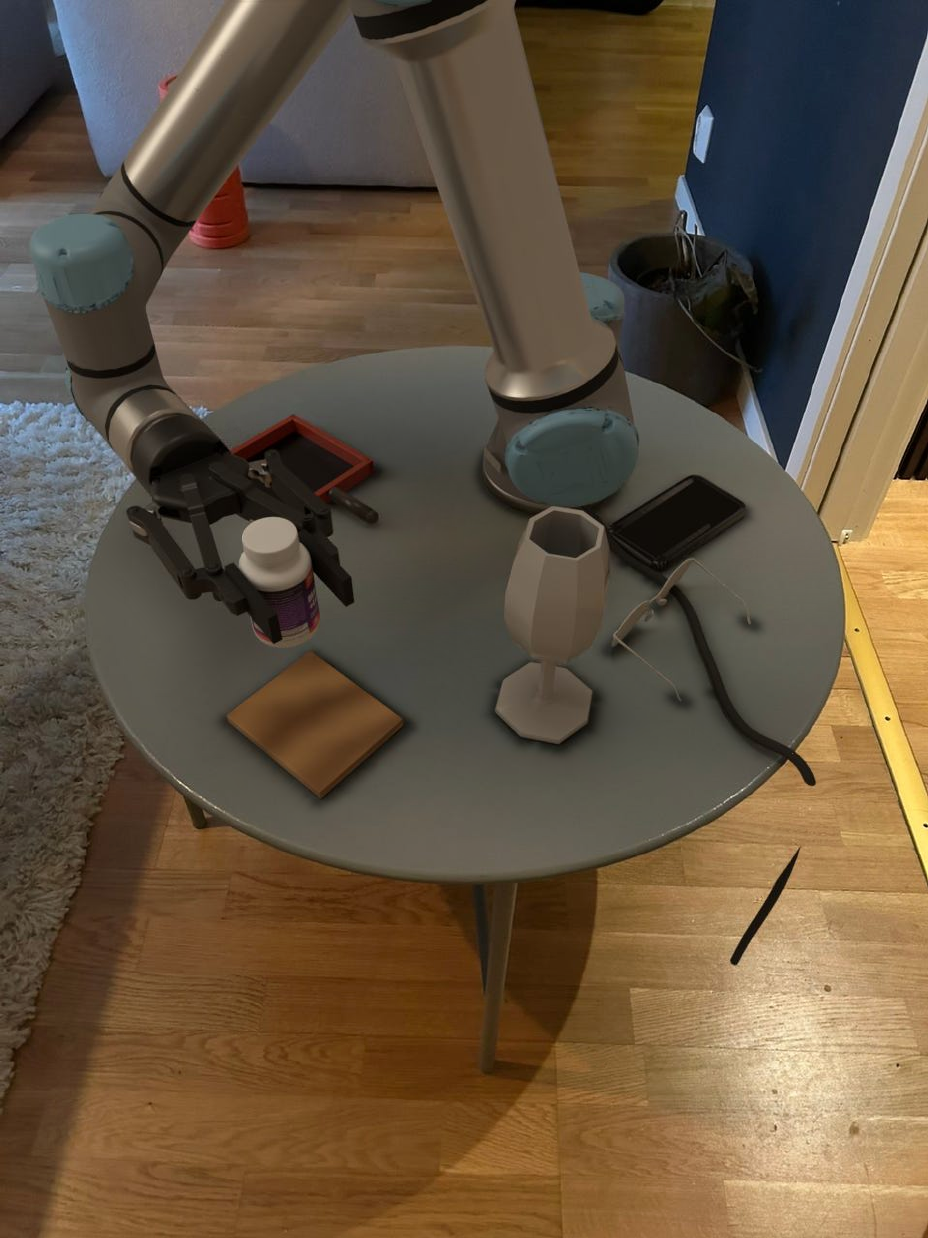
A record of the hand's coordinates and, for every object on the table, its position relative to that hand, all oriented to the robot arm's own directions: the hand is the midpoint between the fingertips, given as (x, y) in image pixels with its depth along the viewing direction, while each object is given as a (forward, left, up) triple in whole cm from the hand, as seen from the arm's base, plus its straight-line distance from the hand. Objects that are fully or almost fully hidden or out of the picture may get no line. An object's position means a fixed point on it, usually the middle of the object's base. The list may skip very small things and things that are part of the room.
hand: (312, 610), depth 65 cm
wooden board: (+3, -1, -18) cm, 18 cm away
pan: (+28, -23, -18) cm, 40 cm away
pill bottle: (+5, -1, -6) cm, 8 cm away
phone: (-7, -45, -18) cm, 49 cm away
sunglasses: (-16, -31, -18) cm, 39 cm away
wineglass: (-11, -16, -18) cm, 26 cm away
